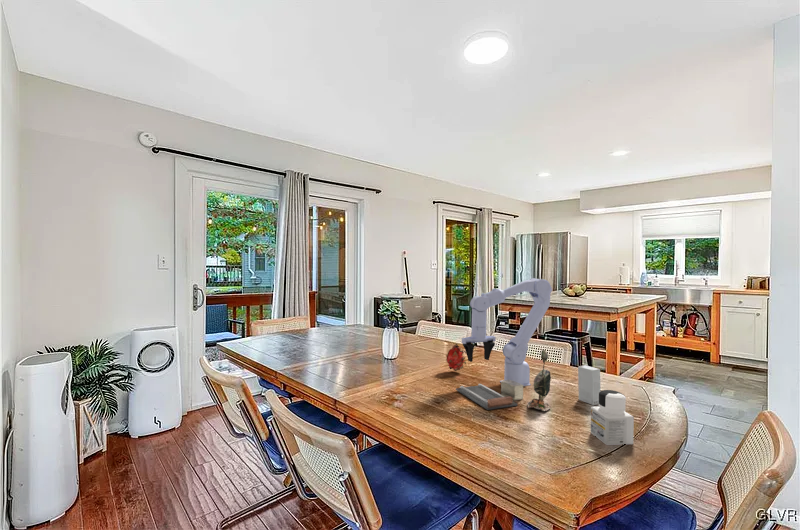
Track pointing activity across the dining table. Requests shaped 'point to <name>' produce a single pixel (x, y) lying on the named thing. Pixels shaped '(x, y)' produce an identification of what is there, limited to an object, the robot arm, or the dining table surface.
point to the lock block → (512, 389)
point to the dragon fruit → (455, 358)
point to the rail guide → (486, 397)
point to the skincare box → (589, 384)
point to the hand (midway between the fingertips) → (478, 360)
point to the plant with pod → (541, 386)
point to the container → (612, 419)
